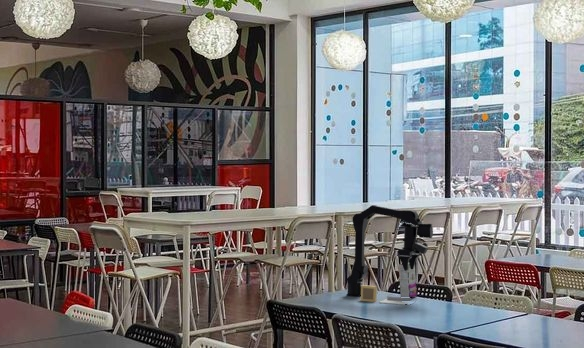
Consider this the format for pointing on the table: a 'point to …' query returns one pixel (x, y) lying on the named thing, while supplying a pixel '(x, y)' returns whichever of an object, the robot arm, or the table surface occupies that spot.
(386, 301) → the mat
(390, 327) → the table surface
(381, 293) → the table surface
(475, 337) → the table surface
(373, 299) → the tile
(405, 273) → the candy bar box
